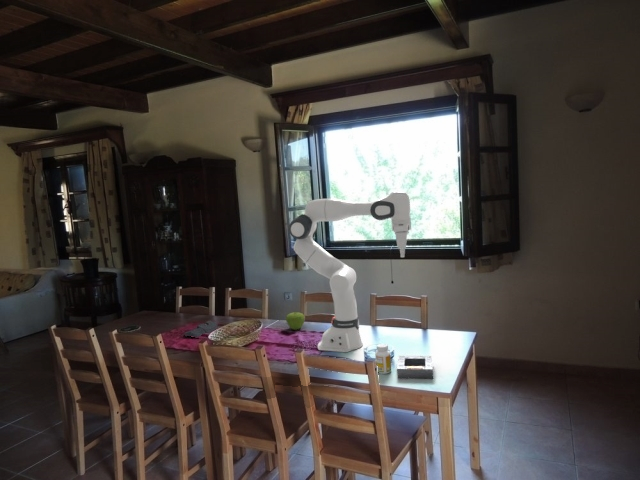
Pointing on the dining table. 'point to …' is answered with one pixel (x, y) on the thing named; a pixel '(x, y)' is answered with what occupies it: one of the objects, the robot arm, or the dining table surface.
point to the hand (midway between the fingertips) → (402, 255)
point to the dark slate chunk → (202, 329)
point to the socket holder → (415, 367)
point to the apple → (295, 320)
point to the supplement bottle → (383, 359)
